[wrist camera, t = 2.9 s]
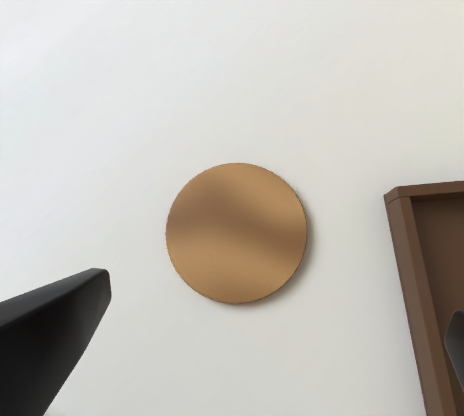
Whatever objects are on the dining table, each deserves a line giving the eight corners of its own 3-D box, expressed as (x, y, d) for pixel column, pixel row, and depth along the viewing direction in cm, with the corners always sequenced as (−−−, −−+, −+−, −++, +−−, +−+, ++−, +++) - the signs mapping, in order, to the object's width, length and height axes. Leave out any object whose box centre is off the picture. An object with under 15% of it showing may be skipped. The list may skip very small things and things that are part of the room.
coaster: (314, 298, 22) (316, 298, 22) (168, 307, 23) (166, 308, 22) (297, 159, 25) (298, 156, 24) (166, 171, 26) (164, 169, 25)
